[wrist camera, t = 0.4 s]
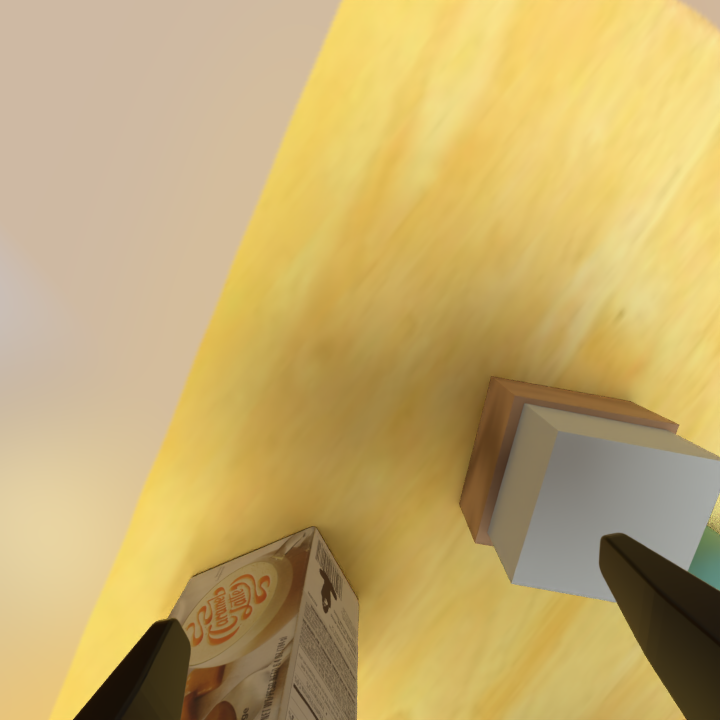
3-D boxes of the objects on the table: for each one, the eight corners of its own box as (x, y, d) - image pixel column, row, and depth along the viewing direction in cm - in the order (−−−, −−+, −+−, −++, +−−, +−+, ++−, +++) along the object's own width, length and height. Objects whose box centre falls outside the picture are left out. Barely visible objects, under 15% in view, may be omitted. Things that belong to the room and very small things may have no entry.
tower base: (585, 522, 25) (626, 568, 21) (457, 500, 25) (475, 543, 21) (626, 399, 23) (679, 424, 19) (489, 375, 23) (514, 395, 19)
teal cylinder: (704, 598, 25) (785, 675, 20) (627, 584, 25) (689, 659, 20) (733, 527, 24) (826, 591, 19) (653, 513, 24) (725, 573, 19)
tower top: (620, 556, 21) (671, 612, 17) (487, 532, 21) (511, 583, 17) (667, 430, 19) (731, 463, 16) (524, 403, 19) (558, 430, 16)
